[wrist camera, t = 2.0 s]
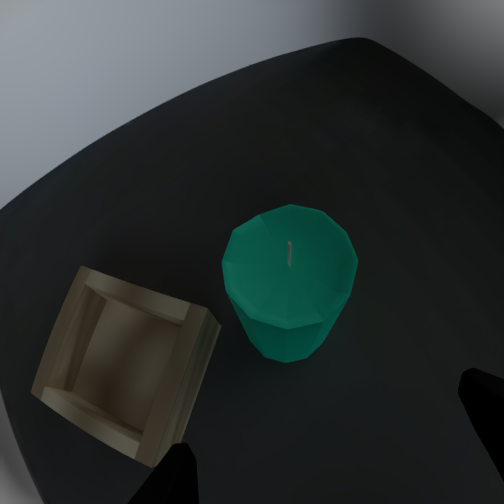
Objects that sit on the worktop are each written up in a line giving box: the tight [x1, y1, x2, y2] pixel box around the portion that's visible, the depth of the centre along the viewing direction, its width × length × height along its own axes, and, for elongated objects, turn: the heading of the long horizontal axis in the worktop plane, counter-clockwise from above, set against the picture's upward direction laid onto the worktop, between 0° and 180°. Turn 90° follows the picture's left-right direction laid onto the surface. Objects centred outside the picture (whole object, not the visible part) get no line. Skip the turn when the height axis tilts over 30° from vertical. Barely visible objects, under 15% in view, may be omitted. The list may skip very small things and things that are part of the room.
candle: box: [222, 204, 358, 363], centre depth 18 cm, size 6×6×12 cm
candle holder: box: [31, 265, 221, 468], centre depth 20 cm, size 11×11×4 cm
